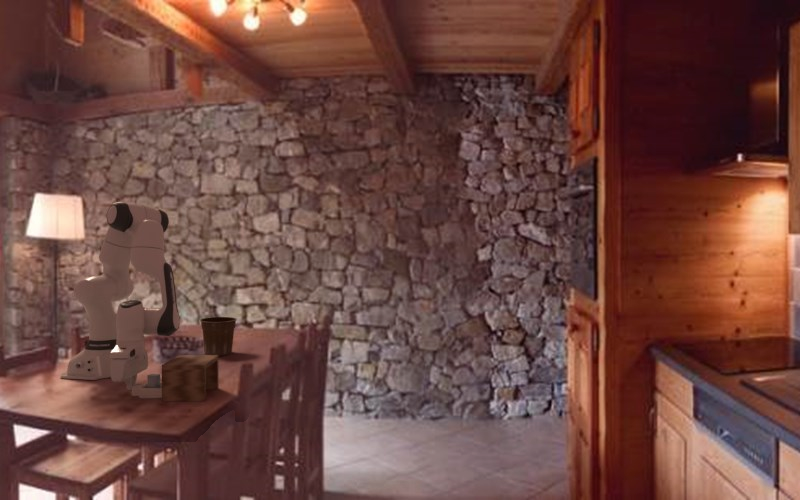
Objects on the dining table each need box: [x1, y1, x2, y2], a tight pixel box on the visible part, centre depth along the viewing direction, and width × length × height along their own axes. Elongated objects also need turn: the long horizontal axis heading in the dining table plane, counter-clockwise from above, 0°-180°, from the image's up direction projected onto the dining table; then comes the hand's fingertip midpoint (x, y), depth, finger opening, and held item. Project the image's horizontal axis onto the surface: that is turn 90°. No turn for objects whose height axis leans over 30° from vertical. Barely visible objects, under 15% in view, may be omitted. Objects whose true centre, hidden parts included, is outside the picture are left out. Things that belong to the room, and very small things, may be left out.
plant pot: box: [199, 316, 238, 357], centre depth 263 cm, size 16×16×16 cm
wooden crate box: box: [161, 354, 220, 402], centre depth 196 cm, size 14×16×12 cm
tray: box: [131, 373, 162, 399], centre depth 195 cm, size 19×8×7 cm, turn 91°
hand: (130, 388), depth 195 cm, fingers closed, pressing on tray
